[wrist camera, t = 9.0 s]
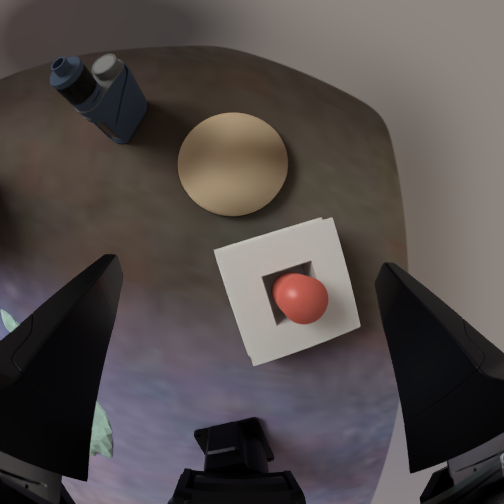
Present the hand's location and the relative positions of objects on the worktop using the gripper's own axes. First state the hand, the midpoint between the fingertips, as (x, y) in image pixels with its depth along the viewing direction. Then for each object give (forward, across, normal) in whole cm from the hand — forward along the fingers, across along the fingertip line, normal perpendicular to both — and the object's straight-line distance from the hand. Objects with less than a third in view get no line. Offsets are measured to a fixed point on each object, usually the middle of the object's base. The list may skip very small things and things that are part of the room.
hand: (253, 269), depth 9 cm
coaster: (+16, +1, +2) cm, 16 cm away
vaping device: (+18, +11, -1) cm, 22 cm away
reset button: (+7, -4, +9) cm, 12 cm away
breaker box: (+9, -4, +10) cm, 14 cm away
